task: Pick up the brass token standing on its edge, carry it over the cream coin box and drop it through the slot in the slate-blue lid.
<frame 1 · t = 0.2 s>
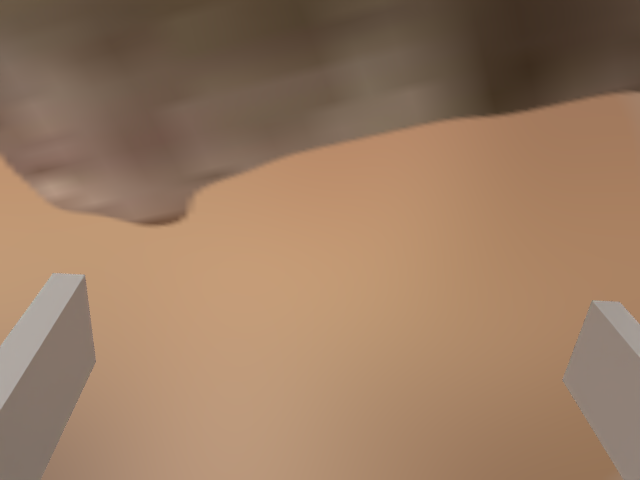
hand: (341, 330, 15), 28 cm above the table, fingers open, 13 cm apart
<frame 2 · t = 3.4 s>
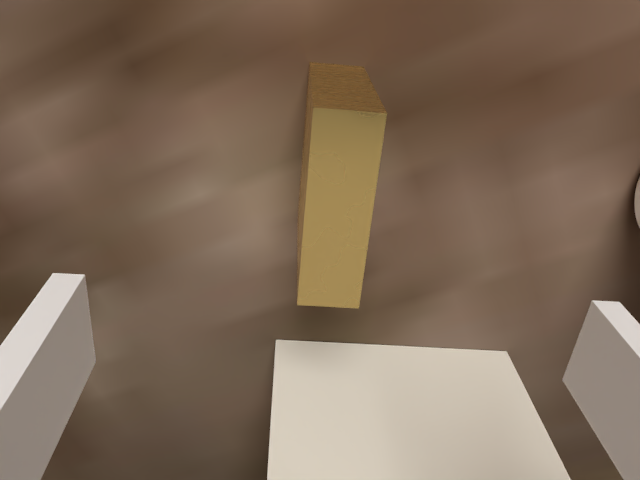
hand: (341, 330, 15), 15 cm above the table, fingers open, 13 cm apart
token: (328, 147, 28), on the table
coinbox: (377, 430, 37), on the table
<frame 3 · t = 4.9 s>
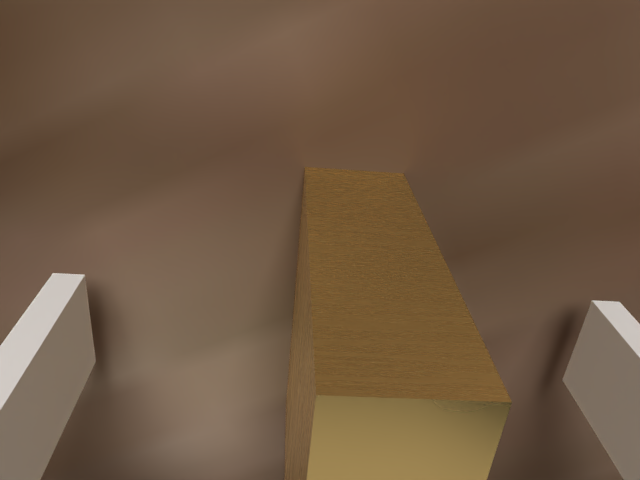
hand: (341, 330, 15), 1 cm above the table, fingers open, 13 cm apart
token: (338, 302, 16), on the table
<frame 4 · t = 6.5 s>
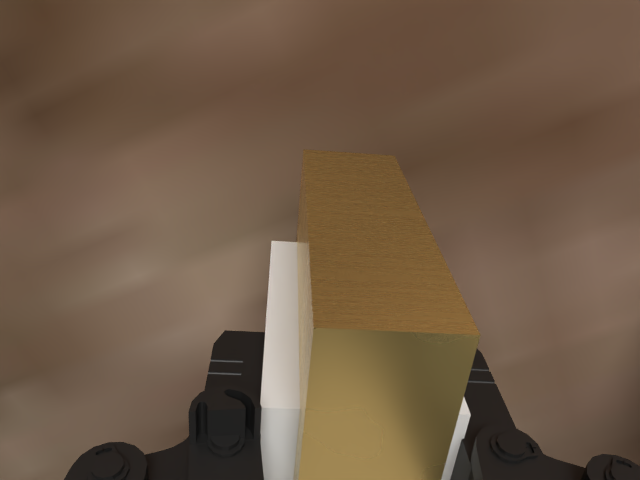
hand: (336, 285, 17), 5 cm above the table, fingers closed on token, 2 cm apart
token: (334, 277, 17), point 5 cm above the table, touching gripper
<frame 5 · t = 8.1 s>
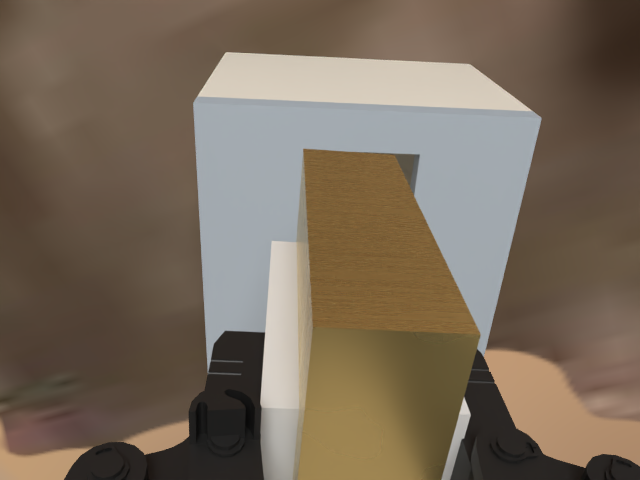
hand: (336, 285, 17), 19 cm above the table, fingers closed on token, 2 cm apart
token: (334, 277, 17), point 19 cm above the table, touching gripper
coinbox: (340, 172, 35), on the table
when the fingers open (12 cm above the table, at t = 10.0 s): token drops 10 cm and tips over, resting on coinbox.
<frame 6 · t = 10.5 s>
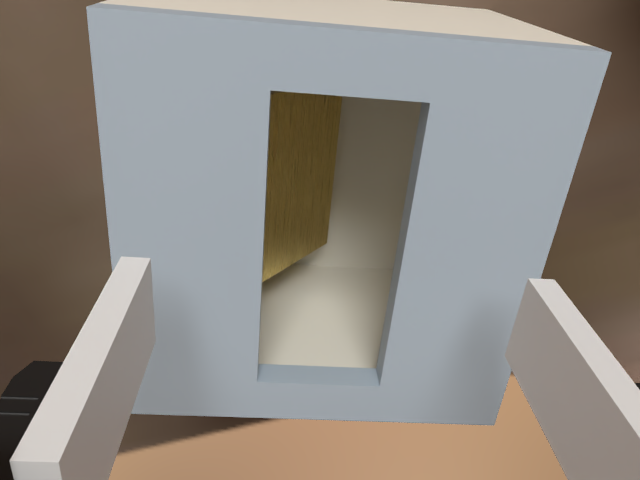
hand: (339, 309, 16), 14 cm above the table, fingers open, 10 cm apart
token: (312, 159, 26), point 2 cm above the table, tilted 37°, touching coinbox
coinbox: (318, 148, 28), on the table
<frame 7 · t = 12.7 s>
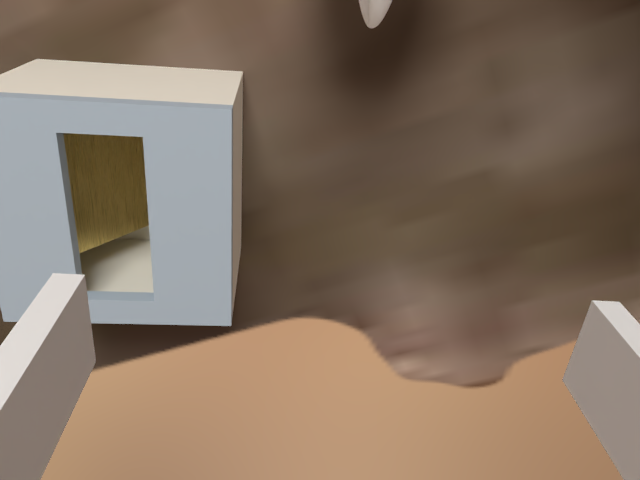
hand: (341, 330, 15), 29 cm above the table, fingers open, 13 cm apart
token: (138, 168, 41), point 2 cm above the table, tilted 37°, touching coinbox
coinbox: (148, 161, 42), on the table
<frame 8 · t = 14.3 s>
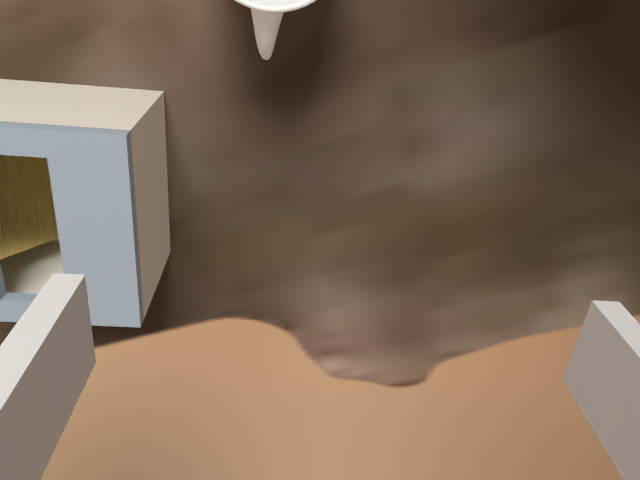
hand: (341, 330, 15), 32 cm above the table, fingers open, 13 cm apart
token: (68, 178, 44), point 2 cm above the table, tilted 37°, touching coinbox
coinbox: (79, 171, 46), on the table
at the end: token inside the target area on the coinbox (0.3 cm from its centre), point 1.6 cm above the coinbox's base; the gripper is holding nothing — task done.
